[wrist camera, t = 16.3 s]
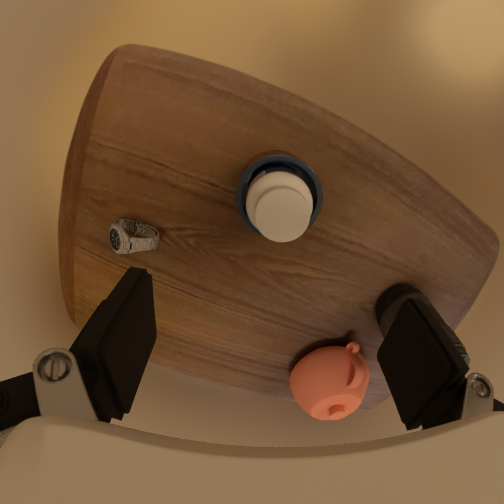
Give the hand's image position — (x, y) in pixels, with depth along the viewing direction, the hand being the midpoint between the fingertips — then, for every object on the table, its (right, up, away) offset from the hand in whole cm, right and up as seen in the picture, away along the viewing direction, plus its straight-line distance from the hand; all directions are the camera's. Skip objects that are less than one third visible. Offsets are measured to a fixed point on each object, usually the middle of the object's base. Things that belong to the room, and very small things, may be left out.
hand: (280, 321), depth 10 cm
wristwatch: (-14, +5, +22) cm, 27 cm away
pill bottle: (+1, +9, +19) cm, 21 cm away
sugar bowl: (+11, -15, +31) cm, 36 cm away
